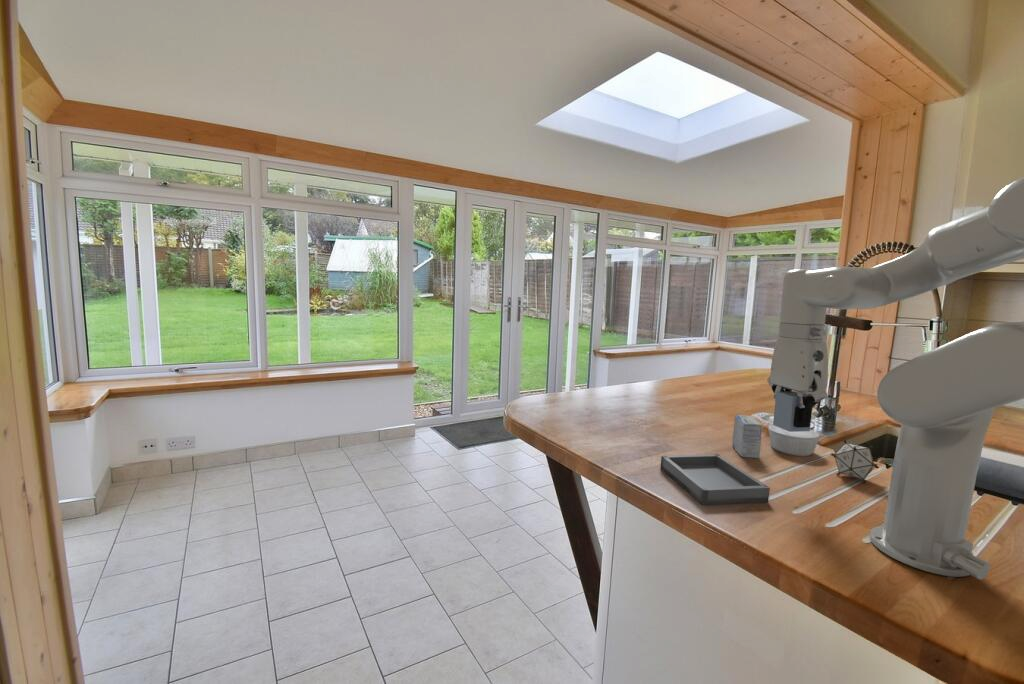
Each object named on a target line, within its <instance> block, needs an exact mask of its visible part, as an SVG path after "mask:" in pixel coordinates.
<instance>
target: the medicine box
mask: <svg viewBox="0 0 1024 684" xmlns="http://www.w3.org/2000/svg"><path fill="white" fill-rule="evenodd" d="M732 434H733V435H732V441H731V442H732V445H731V446H732V448H733V449H735V451H736V452H737V454H739V456H740V457H742V458H748V459H751V458H752V459H760V456H761V455H760V453H761V445H762V443H761V442H762V436H763V435H762V434H763V424H762V423H760V421H759V420H758V419H756V418H755V417H754V416H752V415H742V414H737V415H735V416H734V423H733V433H732Z"/></svg>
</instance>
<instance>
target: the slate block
mask: <svg viewBox="0 0 1024 684" xmlns="http://www.w3.org/2000/svg"><path fill="white" fill-rule="evenodd" d="M804 396H805V399H806V398H807V395H804ZM774 400H775V401H774V411H773V422H772V425H774V426H777V427H779V428H782V429H784V430H786V431H789V432H800V431H810V430H811V423H812V422H811V423H810V427H798V428H797V427H794V417H795V407H799V406H798V398H797V391H794V390H792V391H785V390H784V391H783V392H776V399H774ZM812 413H813V412H812ZM812 413H811V416H812Z"/></svg>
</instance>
